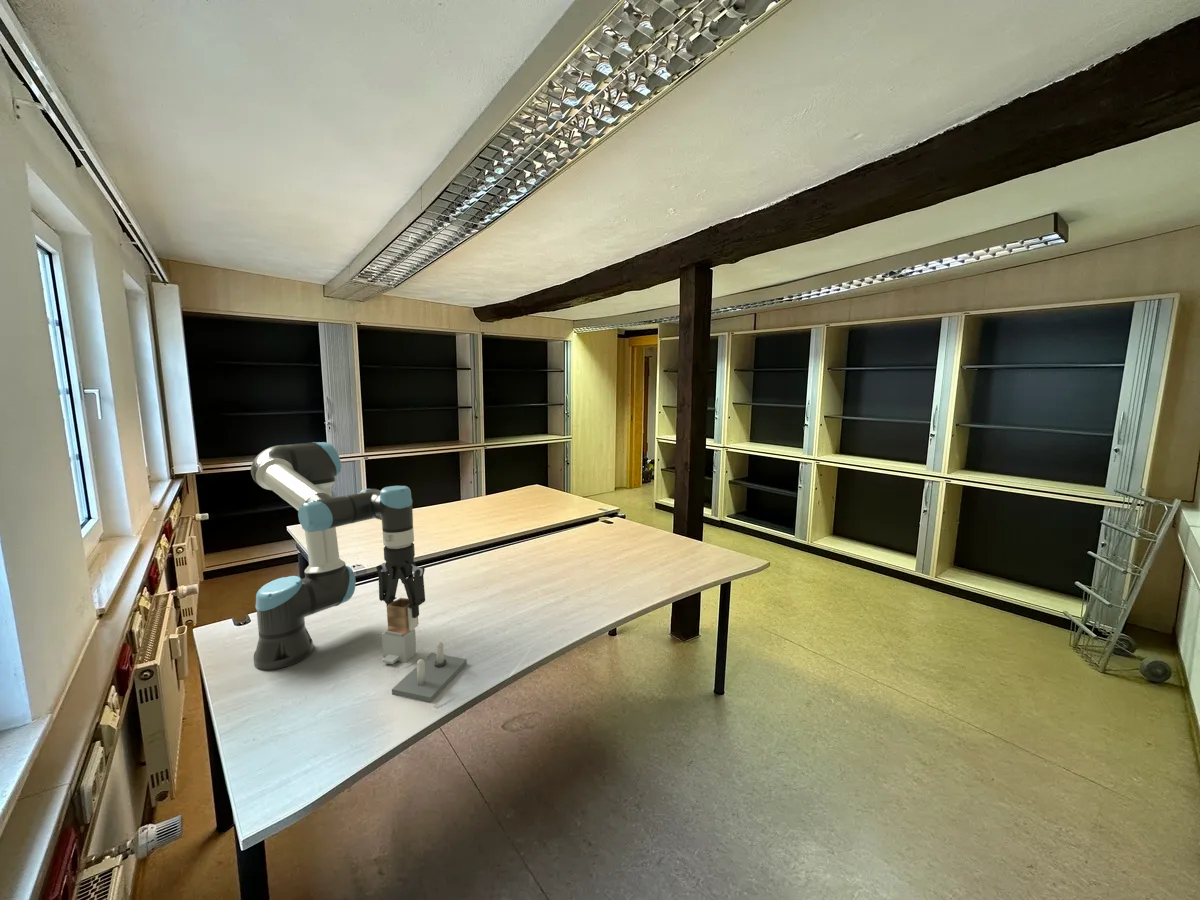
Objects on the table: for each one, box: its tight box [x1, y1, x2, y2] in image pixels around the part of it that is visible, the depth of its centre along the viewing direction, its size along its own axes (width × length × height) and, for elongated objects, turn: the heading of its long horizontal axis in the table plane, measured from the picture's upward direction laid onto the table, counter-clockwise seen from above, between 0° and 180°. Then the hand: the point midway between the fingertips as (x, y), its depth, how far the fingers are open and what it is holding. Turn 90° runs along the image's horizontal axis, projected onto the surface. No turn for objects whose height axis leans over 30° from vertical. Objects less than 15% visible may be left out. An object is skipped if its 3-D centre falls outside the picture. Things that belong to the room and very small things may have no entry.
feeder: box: [381, 628, 417, 665], centre depth 141 cm, size 8×8×9 cm
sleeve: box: [386, 597, 419, 634], centre depth 125 cm, size 5×5×7 cm
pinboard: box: [391, 641, 468, 703], centre depth 132 cm, size 12×18×8 cm, turn 165°
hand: (403, 626), depth 126 cm, fingers closed on sleeve, 5 cm apart
